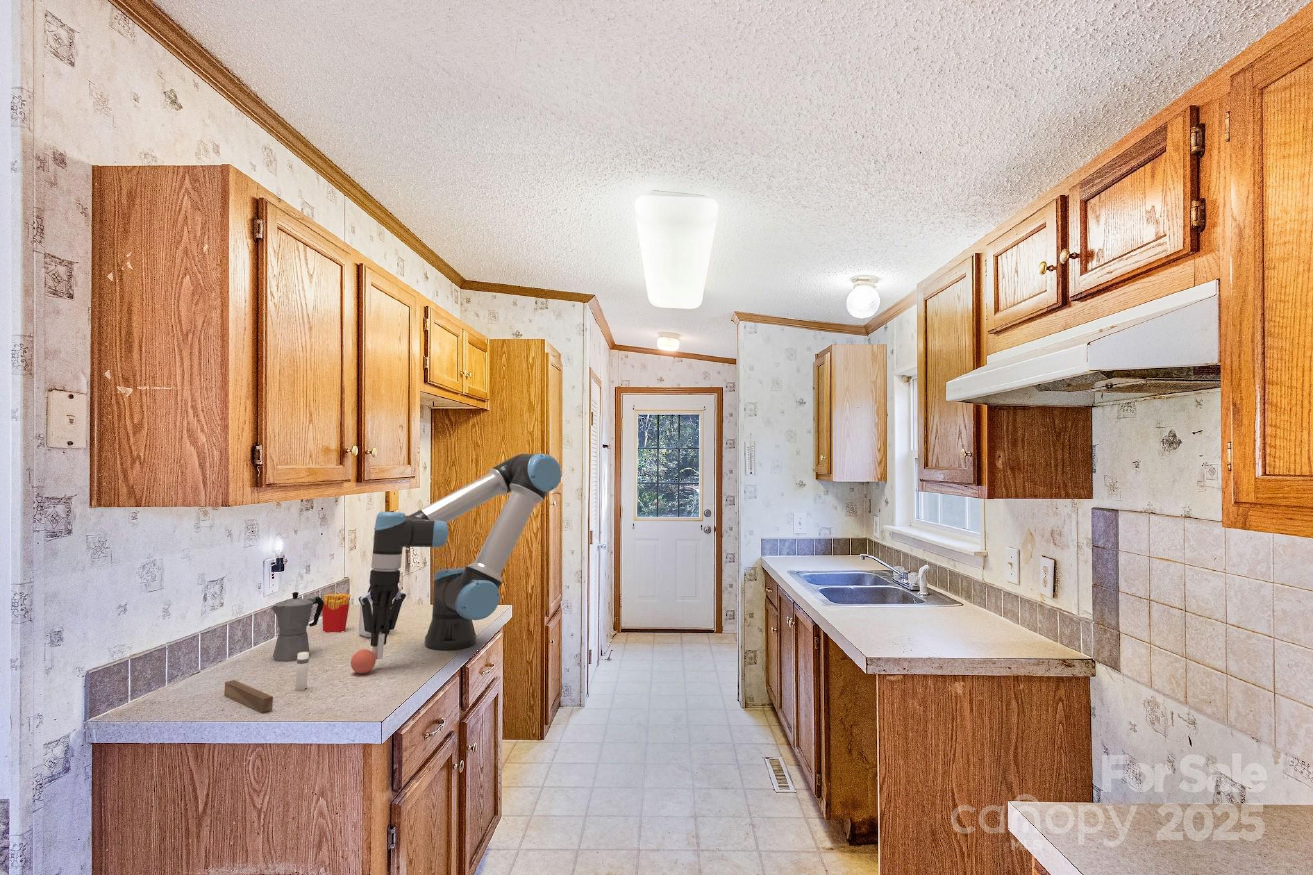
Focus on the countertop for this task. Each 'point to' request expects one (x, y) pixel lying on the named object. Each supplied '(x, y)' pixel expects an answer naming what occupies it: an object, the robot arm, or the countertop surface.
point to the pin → (302, 670)
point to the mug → (361, 623)
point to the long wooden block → (248, 696)
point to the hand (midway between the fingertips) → (376, 658)
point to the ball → (363, 661)
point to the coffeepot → (294, 626)
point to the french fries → (335, 612)
